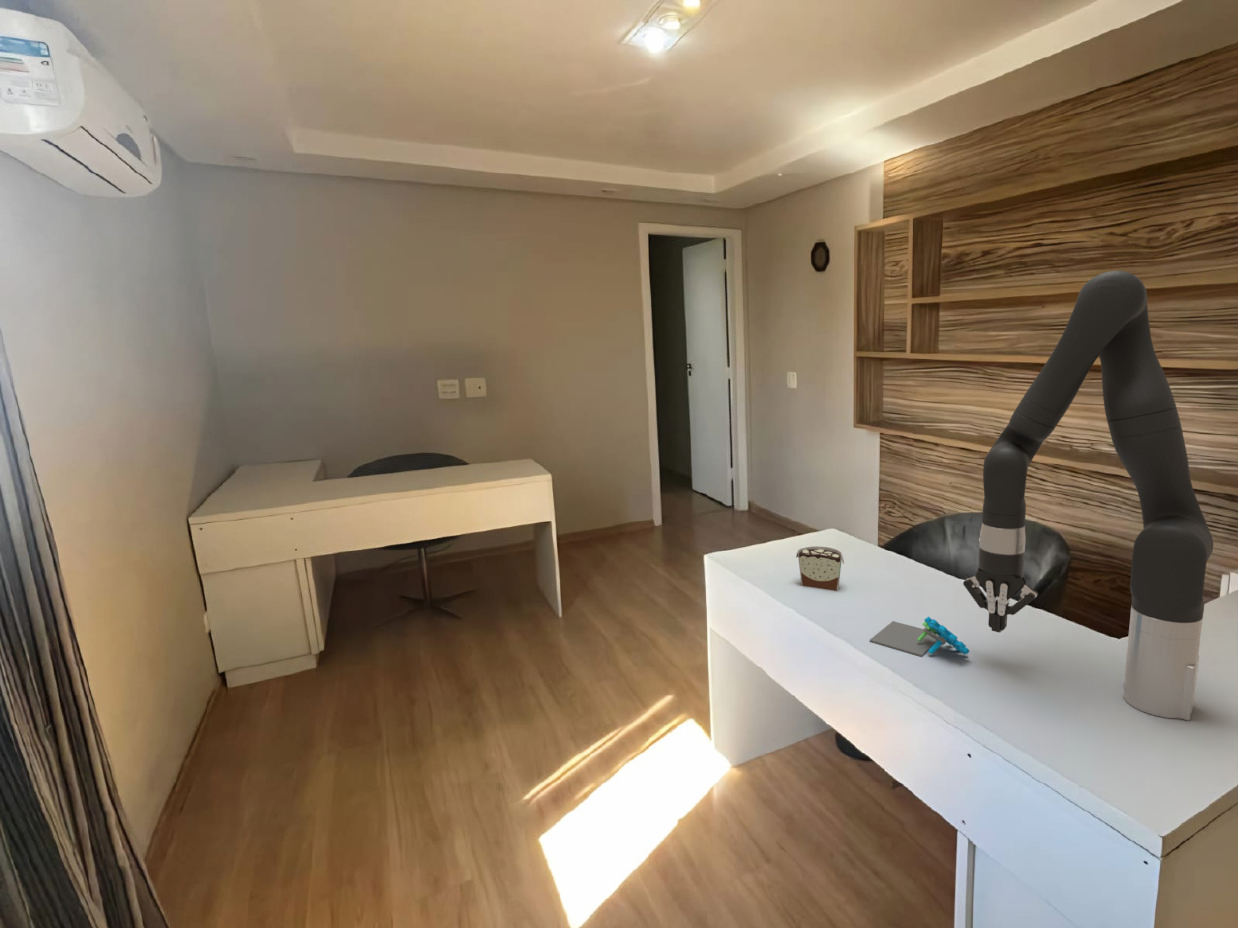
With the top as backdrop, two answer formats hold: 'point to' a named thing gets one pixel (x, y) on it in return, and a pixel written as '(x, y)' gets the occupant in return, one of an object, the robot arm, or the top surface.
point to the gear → (941, 636)
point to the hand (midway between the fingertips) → (997, 630)
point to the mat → (904, 638)
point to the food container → (820, 567)
